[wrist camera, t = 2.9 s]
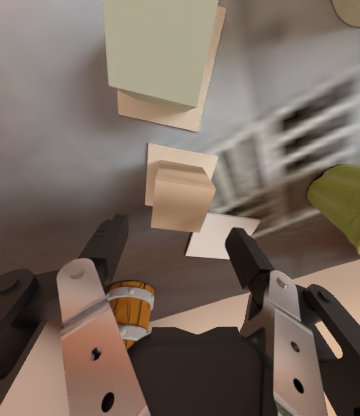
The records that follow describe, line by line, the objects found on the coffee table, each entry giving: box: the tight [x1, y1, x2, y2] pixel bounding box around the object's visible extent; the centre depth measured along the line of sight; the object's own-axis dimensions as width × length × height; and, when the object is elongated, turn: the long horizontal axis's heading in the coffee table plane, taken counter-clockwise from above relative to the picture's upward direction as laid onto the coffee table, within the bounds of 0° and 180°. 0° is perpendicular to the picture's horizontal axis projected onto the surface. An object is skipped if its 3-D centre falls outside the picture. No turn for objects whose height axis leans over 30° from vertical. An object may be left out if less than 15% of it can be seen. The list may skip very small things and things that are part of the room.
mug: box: [106, 281, 154, 350], centre depth 28 cm, size 11×16×15 cm, turn 165°
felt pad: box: [186, 212, 261, 259], centre depth 23 cm, size 10×10×1 cm
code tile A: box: [145, 143, 218, 206], centre depth 17 cm, size 8×8×1 cm
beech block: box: [151, 160, 216, 233], centre depth 15 cm, size 5×5×6 cm
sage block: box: [102, 0, 219, 111], centre depth 9 cm, size 5×5×6 cm
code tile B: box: [117, 5, 227, 132], centre depth 12 cm, size 8×8×1 cm
